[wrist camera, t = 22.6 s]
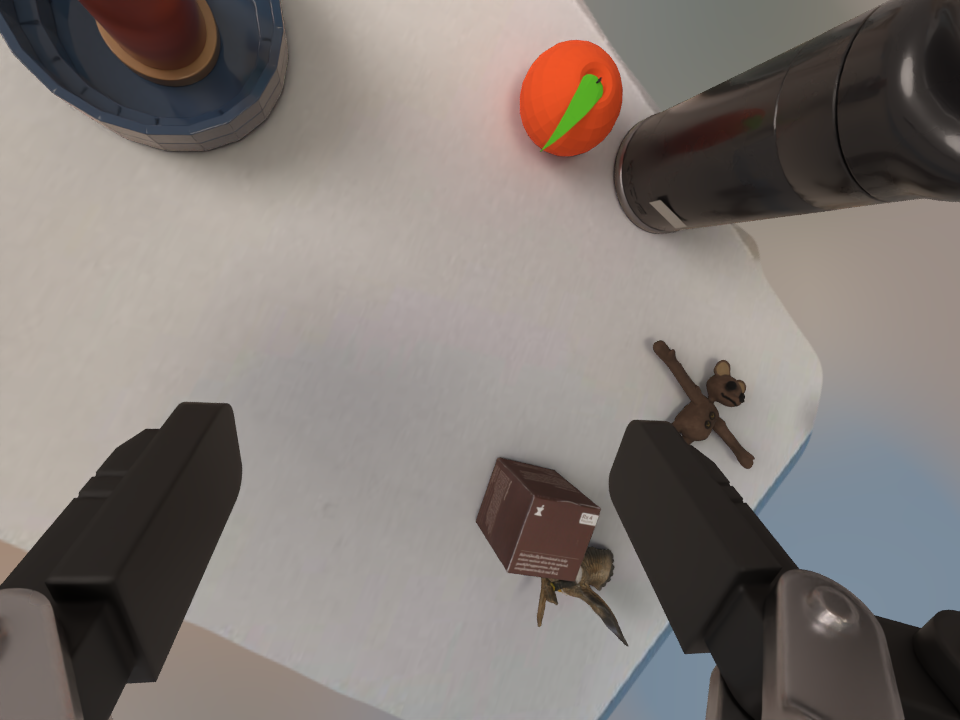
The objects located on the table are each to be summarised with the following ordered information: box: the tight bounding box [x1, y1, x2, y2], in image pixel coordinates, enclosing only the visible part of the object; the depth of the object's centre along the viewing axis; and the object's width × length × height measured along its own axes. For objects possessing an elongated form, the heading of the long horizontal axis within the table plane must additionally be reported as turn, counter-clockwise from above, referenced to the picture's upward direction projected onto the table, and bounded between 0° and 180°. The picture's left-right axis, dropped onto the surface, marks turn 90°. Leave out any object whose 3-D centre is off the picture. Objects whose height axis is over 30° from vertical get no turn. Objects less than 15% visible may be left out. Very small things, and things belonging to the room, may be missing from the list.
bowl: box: [0, 0, 288, 151], centre depth 25 cm, size 13×13×4 cm
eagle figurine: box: [537, 547, 628, 646], centre depth 40 cm, size 8×7×9 cm
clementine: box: [520, 40, 623, 156], centre depth 31 cm, size 8×7×7 cm
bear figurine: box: [653, 340, 755, 469], centre depth 42 cm, size 18×4×14 cm
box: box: [476, 458, 601, 581], centre depth 36 cm, size 6×6×7 cm
